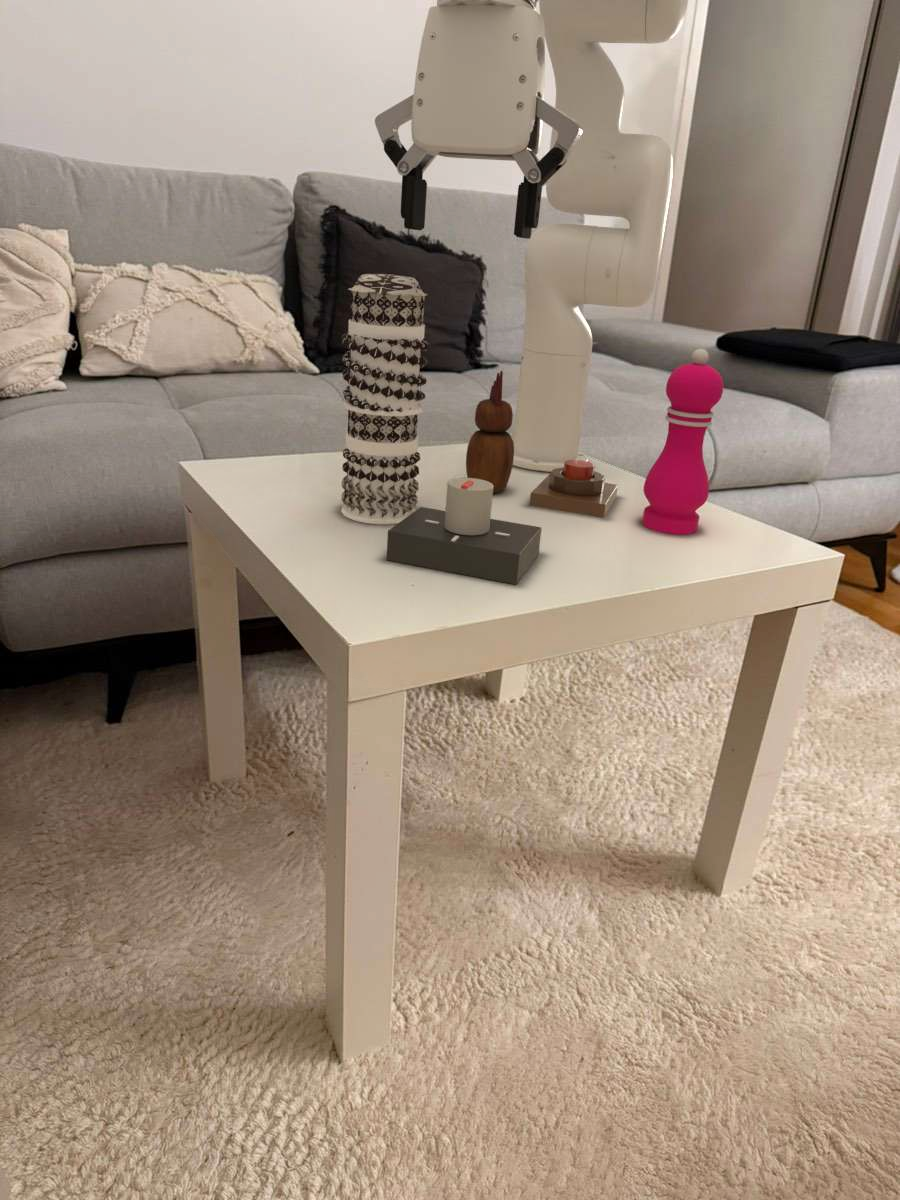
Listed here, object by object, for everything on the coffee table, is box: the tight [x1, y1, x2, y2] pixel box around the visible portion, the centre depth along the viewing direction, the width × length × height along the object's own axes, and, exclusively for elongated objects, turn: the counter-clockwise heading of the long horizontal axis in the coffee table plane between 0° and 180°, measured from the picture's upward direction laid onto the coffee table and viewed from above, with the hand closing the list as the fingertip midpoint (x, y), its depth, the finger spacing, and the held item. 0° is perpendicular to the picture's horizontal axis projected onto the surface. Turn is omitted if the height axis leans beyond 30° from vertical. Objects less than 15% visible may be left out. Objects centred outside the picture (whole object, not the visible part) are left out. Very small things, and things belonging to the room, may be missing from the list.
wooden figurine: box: [465, 370, 514, 494], centre depth 105 cm, size 7×6×15 cm
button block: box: [529, 467, 619, 519], centre depth 105 cm, size 10×9×4 cm
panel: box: [386, 506, 542, 585], centre depth 84 cm, size 9×13×3 cm
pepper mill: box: [641, 348, 724, 536], centre depth 95 cm, size 7×7×20 cm
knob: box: [444, 477, 494, 536], centre depth 82 cm, size 4×4×5 cm
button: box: [563, 460, 595, 479], centre depth 104 cm, size 4×4×2 cm
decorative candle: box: [340, 273, 431, 525], centre depth 91 cm, size 9×9×25 cm
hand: (467, 233), depth 72 cm, fingers open, 9 cm apart
